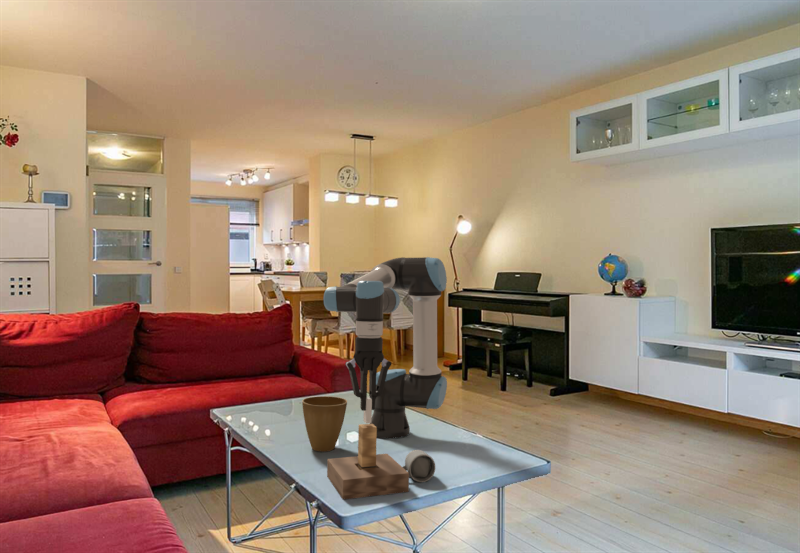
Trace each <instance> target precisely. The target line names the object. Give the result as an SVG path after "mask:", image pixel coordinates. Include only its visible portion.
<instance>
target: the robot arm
mask: <svg viewBox="0 0 800 553" xmlns="http://www.w3.org/2000/svg"><path fill="white" fill-rule="evenodd" d="M447 279H448V278H447V271H446V268H445V265H444V263H443V261H442V260H441V259H440V258H437V257H430V256H427V257H424V256H423V257H403V256H402V257H397V258H392V259H388V260H386V261H384V262H383V261H382V262H381V263H379V264H377V265H374V267H373V268H371V270H370V271H369V272H367V273H366V274H364V275H362V276H360V277H358V278H356V279H354V280H352V281H350V282H348V283H346V284H344V285H342V286H337V285H335V286H329V287H327V288H325V291H324V293H323V305H324V308H325V310H327V311H329V312H336V313H355V339H354V340H355V343H354V345H355V346H354V348H355V352H354V354H353V357H352V359H351V360H349V361H345V367H346V368H347V369H348V373H349V376H350V382H351V387H352V391H353V392H352V393H353V394H354V396H355V397H357V398H360V410H361V411H363V422H364V423H365V424H373V425H375V426H376V427H377V438H380V439H398V438H399V439H400V438H405V437H407V436H409V435H410V433H411V432H410V431H411V430H410V425H409V424H410V423H409V421H408V420H409V419H408V417H407V414H406V407H408V408H418V409H419V408H420V409H426V410H430V409H431V410H437V409H440V408H441V407H442V406H443V403H444V401H445V398H446V395H447V387H448V382H447V377H446V376H443V375H442V369H441V368H439V366H438V300H439V298H440V297H441V296H442V292H443V291H445V290H446V288H447V283H448V282H447V281H448V280H447ZM396 290H404V291H408V297H410V299H412V331H413V332H412V338H413V339H412V341H413V342H412V343H413V344H412V350H413V351H412V356H413V357H412V358H413V366H412V367H411V368H410V369H409V372H408V373H407V370H406V369H405V368H404V369H403V368H393V369H390V367H391V365H392V364H393V363H392V362H391V361H390V360H387V359H386V358H385V355H384V353H383V340H384V338H383V337H382V336H383V332H384V331H383V330H384V314H390V313H393V312H395V311H396V310H397V309H398V307H399V305H400V303H401V301H400V300H401V299H400V296H399V293H398V291H396ZM356 365H357V366H358V368H359V372H360V381H359V382H360V386H359V382H358V376H357V372H356V369H355V368H356ZM380 365H381V368H380V371H378V367H379V366H380ZM377 371H378V372H377ZM368 374H369V376H368ZM368 377H369V379H368ZM368 382H369V384H368ZM372 411H373V412H372Z"/></svg>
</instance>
